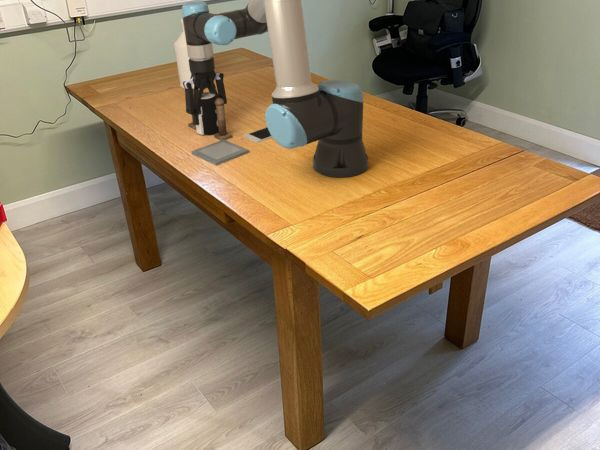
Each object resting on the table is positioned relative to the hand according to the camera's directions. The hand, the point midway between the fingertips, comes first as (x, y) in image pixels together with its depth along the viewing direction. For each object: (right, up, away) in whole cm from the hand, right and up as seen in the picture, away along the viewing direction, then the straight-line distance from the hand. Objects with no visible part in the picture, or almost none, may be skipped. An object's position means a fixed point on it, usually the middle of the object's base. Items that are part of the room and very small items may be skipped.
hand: (209, 130), depth 186 cm
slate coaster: (+5, -9, -14) cm, 18 cm away
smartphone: (+19, -2, -2) cm, 19 cm away
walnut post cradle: (0, 0, 0) cm, 1 cm away
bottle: (-12, +25, +44) cm, 52 cm away
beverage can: (0, -1, 0) cm, 1 cm away
